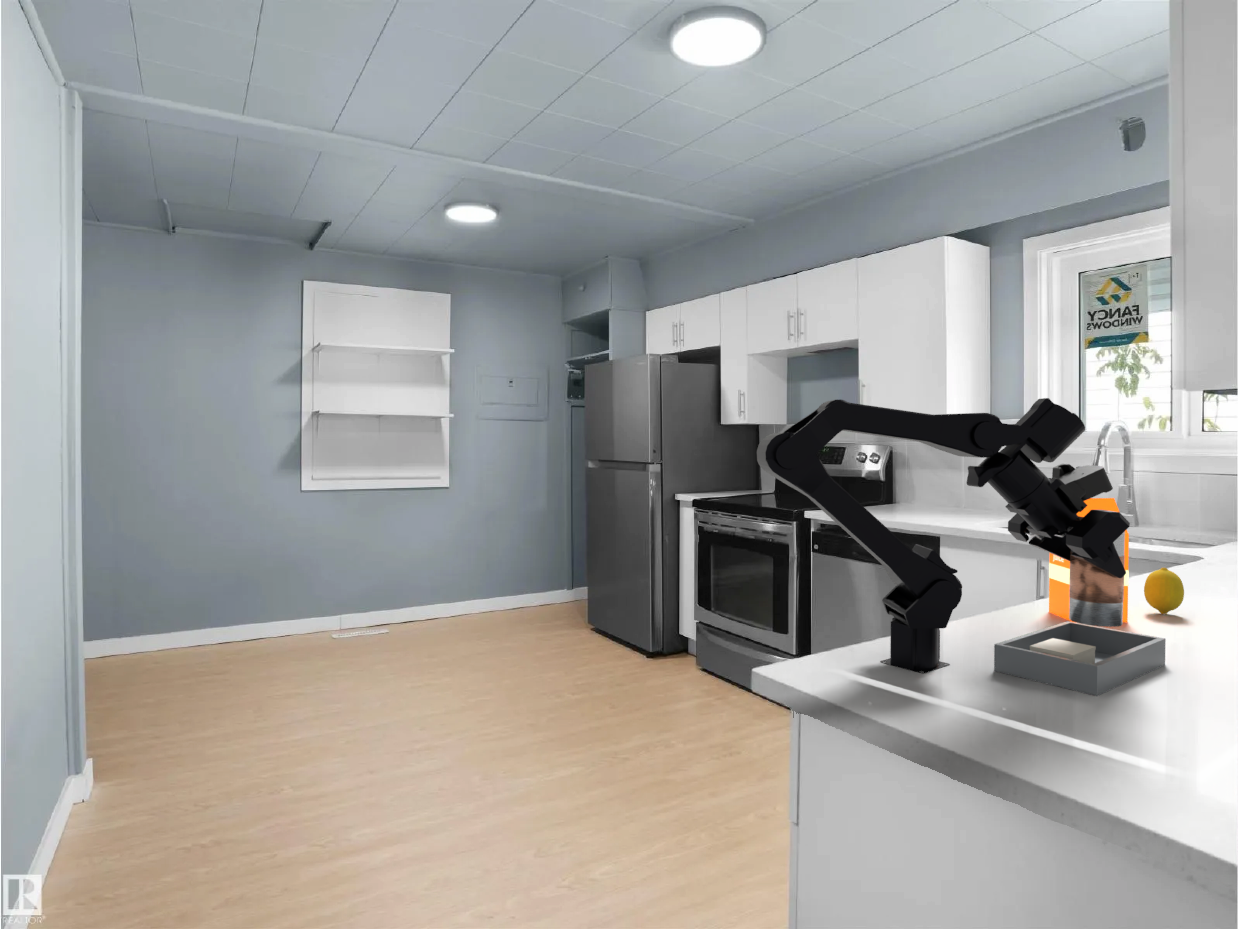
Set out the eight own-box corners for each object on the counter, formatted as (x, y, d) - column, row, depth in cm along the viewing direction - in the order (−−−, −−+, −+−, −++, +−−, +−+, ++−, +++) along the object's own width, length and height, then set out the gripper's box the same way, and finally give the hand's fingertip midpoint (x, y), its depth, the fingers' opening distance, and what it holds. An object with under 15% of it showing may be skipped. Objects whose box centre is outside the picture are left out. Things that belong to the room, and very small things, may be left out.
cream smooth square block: (1072, 684, 92) (1073, 655, 92) (1029, 674, 96) (1029, 645, 96) (1095, 675, 95) (1095, 646, 95) (1052, 665, 99) (1052, 638, 99)
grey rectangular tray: (1096, 701, 88) (1097, 666, 88) (994, 675, 98) (994, 644, 97) (1165, 669, 100) (1165, 638, 99) (1067, 648, 109) (1067, 621, 109)
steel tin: (1083, 626, 98) (1086, 525, 98) (1059, 615, 104) (1061, 520, 104) (1133, 627, 98) (1136, 526, 97) (1106, 616, 104) (1108, 520, 103)
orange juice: (1128, 622, 124) (1130, 499, 124) (1073, 622, 125) (1075, 500, 124) (1099, 611, 132) (1100, 496, 132) (1047, 611, 132) (1048, 496, 132)
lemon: (1190, 618, 126) (1191, 570, 126) (1152, 617, 128) (1153, 569, 127) (1173, 611, 132) (1174, 565, 132) (1137, 610, 133) (1138, 564, 133)
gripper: (1115, 444, 91) (1205, 537, 91) (1030, 443, 110) (1106, 520, 110) (1047, 510, 91) (1137, 603, 92) (974, 498, 110) (1050, 575, 110)
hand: (1106, 571), depth 101 cm, fingers closed on steel tin, 6 cm apart
